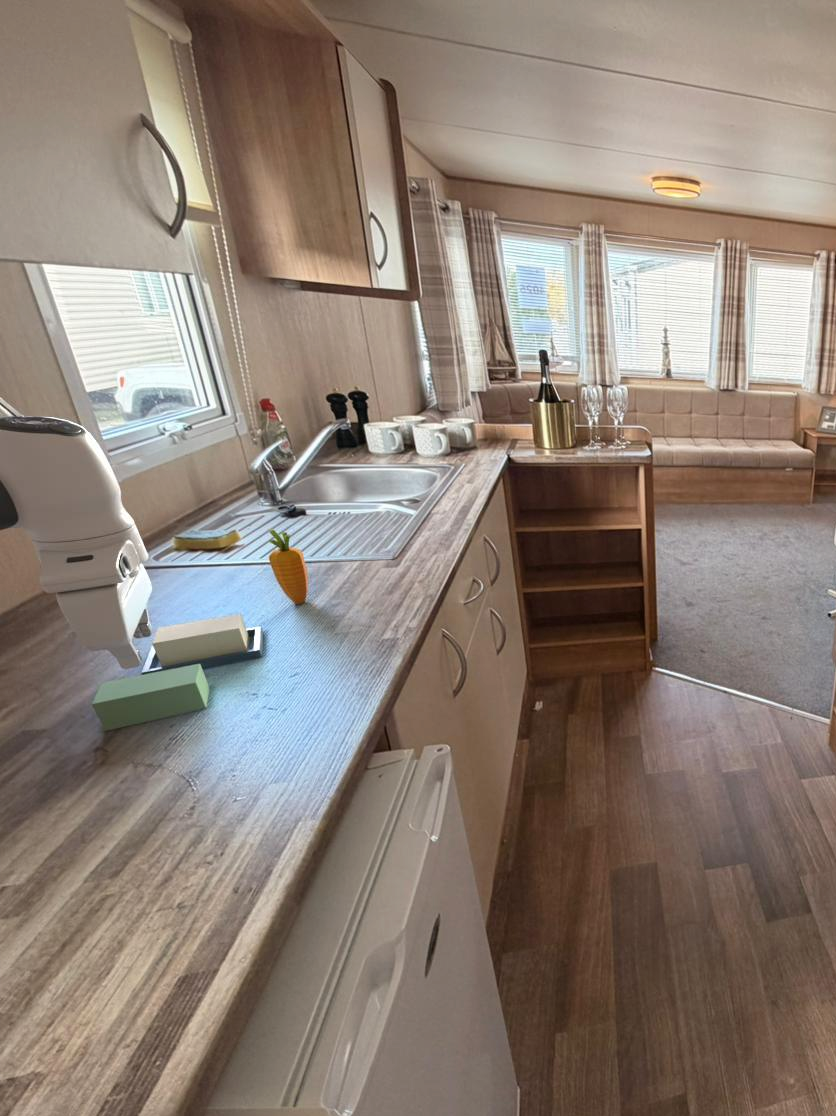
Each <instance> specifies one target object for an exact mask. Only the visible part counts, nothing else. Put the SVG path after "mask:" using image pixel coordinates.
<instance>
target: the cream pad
mask: <svg viewBox="0 0 836 1116" xmlns="http://www.w3.org/2000/svg"><path fill="white" fill-rule="evenodd" d="M247 629H248V628H247V627H246V624H245V621H244V618H243V615H242V613H238V614H232V615H226V616H220V617H213V618H208V619H202V620H201V619H200V620H195V621H190V622H185V623H178V624H177V623H176V624H172V625H165V626H159V627H157V629H156V632H155V634H154V637H153V640H152V642H151V646H153V647H154V650H155V652H156V654H157V657H158V662H159V664H160V667H163V666H169V665H174V664H179V663H184V662H189V661H195V660H200V659H205V658H210V657H215V656H220V655H226V654H231V653H236V652H241V651H246V650H250V645H251V644H250V643H251V637H249V635H248V632H247Z"/></svg>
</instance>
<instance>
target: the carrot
mask: <svg viewBox="0 0 836 1116" xmlns="http://www.w3.org/2000/svg"><path fill="white" fill-rule="evenodd" d="M268 533H270V535H271V536H272V537H273V538H274V539H270V540H268V542H269V543H270V544H272V545H274V546H275V547H276V548H277V549H274V550H272V552H271V553H270V554H269V556H268V560H269V564H270V567H271V569H272V572H273V574H274V576H275V579H276V581H277V583H278V585H279V586H280V588H281V591H283V593H284V594H285V596H286V597H287V598H288V599H289V600H290V601H291V602H292V603H294V605H302V604H305V603H306V600H307V597H308V591H309V575H308V570H307V569H308V568H307V565H306V561H305V557H304V554H303V551H302V550H301V549H299V548H295V547H291V546H290V539H291V535H290V534H288V532H286V531H282V532H281V536H280V534H279V533H278V532H277V531H276V530H275V529H270V530H269V532H268Z"/></svg>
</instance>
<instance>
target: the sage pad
mask: <svg viewBox="0 0 836 1116" xmlns="http://www.w3.org/2000/svg"><path fill="white" fill-rule="evenodd" d="M204 672H205V671H204V669H202V667H201V665H200V664H196V665H190V666H185V667H180V668H175V669H170V670H165V671H160V672H155V673H150V674H144V675H142V674H140V675H135V676H130V677H125V678H124V677H123V678H118V679H114V680H109V681H104V682H101V683H100V685H99V688H98V690H97V693H96V694H95V696H94V699H93V701H92V703H91V706H92V707H93V709H94V712H95V714H96V716H97V717H98V720H99V722H100V724H101V726H102V727H103V730H104V732H108V731H111V730H116V729H120V728H125V727H129V726H134V725H138V724H143V723H148V722H151V721H155V720H161V719H165V718H170V717H174V716H178V715H183V714H187V713H192V712H196V711H199V710H200V711H201V710H205V709H207V706H208V701H209V695H210V690H211V689H210V688H211V687H210V685H209V682H208V680H207V678H206V677H207V676H206V675H205V673H204Z"/></svg>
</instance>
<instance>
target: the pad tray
mask: <svg viewBox="0 0 836 1116" xmlns="http://www.w3.org/2000/svg"><path fill="white" fill-rule="evenodd" d="M246 629H247V632H248V635H249V638H253V639H254V640H253V648H251V649H249V650H246V651H241V652H236V653H231V654H226V655H220V656H215V657H210V658H205V659H200V660H195V661H189V662H184V663H179V664H174V665H169V666H163V667H162V666H159V667H157V665H158V662H159V659H158V657H157V654H156V652H155V650H154V647H153V645H151V646H150V648H149V650H148V654H147V656H146V658H145V662H144V664H143V667H142V670H141V673H140V675H144V674H150V673H155V672H160V671H165V670H170V669H175V668H180V667H185V666H190V665H196V664H200V665H201V667H202V670H204V669H209V668H215V667H219V666H223V665H224V666H225V665H229V664H234V663H240V662H244V661H250V660H254V659H259V658H262V657H263V645H264V632H263V628H262V626H261V625H260V626H256V627H249V628H246Z"/></svg>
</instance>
